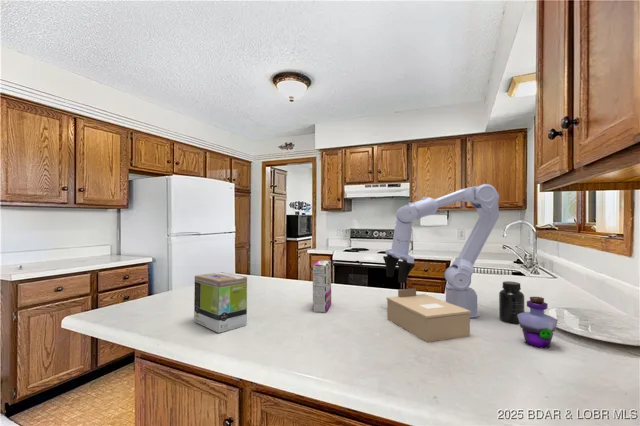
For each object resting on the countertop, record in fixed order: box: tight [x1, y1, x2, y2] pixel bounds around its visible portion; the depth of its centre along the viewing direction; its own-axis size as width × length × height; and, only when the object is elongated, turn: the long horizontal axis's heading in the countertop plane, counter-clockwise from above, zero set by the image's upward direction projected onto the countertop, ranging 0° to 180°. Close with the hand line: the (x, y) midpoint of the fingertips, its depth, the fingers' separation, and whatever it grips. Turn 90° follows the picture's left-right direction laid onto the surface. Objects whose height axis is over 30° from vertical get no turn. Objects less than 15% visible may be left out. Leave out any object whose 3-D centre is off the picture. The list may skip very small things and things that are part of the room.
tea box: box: [193, 271, 248, 334], centre depth 97 cm, size 15×10×15 cm, turn 47°
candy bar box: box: [311, 260, 332, 314], centre depth 114 cm, size 11×5×16 cm, turn 168°
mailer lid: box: [385, 288, 471, 318], centre depth 94 cm, size 14×20×3 cm
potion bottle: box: [518, 296, 559, 350], centre depth 81 cm, size 9×9×12 cm
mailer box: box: [386, 299, 471, 343], centre depth 94 cm, size 14×20×6 cm
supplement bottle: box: [498, 280, 525, 325], centre depth 99 cm, size 7×7×12 cm
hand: (395, 279), depth 109 cm, fingers open, 7 cm apart
